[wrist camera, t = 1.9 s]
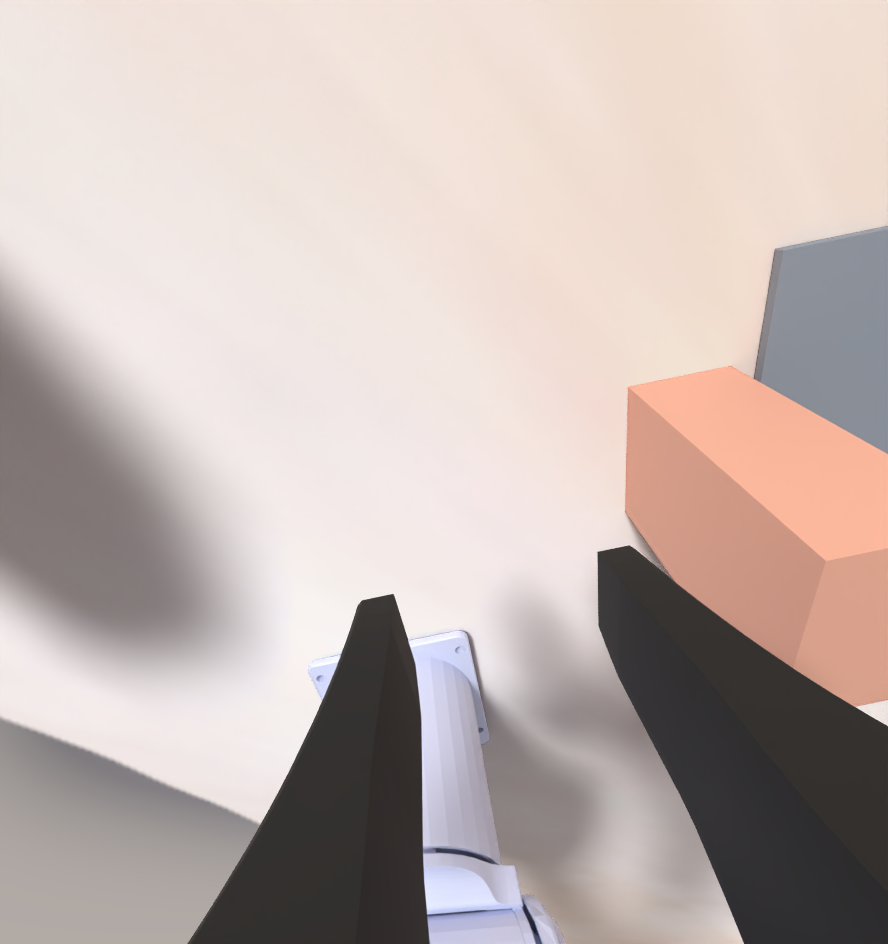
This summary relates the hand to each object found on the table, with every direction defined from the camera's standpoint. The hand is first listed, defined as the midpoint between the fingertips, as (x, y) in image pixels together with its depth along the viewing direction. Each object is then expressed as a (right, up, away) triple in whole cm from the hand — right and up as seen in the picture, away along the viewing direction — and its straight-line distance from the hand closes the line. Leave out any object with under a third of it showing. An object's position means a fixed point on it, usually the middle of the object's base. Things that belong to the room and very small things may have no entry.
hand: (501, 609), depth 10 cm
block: (+8, +4, +11) cm, 14 cm away
